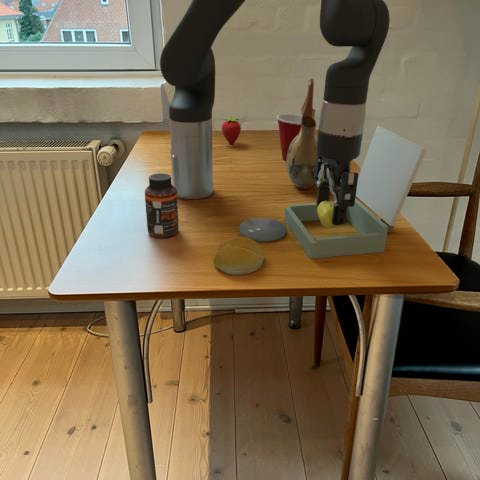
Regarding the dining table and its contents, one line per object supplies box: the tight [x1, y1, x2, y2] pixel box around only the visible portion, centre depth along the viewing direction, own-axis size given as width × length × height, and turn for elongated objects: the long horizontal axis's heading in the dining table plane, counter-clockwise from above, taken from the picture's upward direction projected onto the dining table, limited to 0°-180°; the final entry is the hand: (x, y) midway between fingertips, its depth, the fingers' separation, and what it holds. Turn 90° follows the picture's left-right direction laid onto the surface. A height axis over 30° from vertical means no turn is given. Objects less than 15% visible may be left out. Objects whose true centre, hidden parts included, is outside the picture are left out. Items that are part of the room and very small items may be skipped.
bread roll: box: [212, 236, 265, 276], centre depth 78 cm, size 8×9×4 cm
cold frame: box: [283, 194, 388, 260], centre depth 87 cm, size 14×16×5 cm
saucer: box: [239, 217, 287, 243], centre depth 89 cm, size 9×9×1 cm
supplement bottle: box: [144, 172, 180, 239], centre depth 86 cm, size 6×6×11 cm
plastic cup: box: [276, 113, 317, 162], centre depth 129 cm, size 11×11×12 cm
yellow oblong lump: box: [317, 200, 336, 229], centre depth 86 cm, size 4×8×4 cm, turn 173°
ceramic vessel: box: [285, 78, 320, 190], centre depth 107 cm, size 16×9×25 cm, turn 173°
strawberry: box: [221, 117, 242, 146], centre depth 141 cm, size 6×8×10 cm
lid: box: [356, 125, 427, 227], centre depth 84 cm, size 14×16×1 cm
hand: (329, 214), depth 86 cm, fingers closed on yellow oblong lump, 8 cm apart
